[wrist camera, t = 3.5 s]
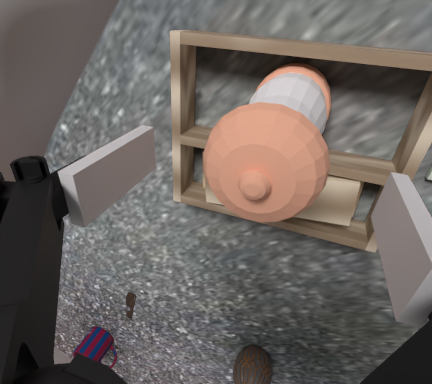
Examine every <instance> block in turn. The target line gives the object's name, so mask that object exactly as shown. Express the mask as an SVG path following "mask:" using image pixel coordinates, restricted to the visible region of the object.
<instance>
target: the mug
mask: <svg viewBox="0 0 432 384" xmlns="http://www.w3.org/2000/svg"><path fill="white" fill-rule="evenodd" d="M112 343H113V337H112V336H111V335H110V334H109V333H108V332H107V331H106V330H104V329H102V328H100V327H97V326H94V327H92V328H91V330H90V331H89V332H88V333H87V335H86V336H85V337H84V339H83V340H82V341H81V342H80V344H79V345H78V346H77V348H76V349H75V350H74V351H73V356H74V357H75V356H76V354H77V353H79V354H81V355H83V356H86V357H88V358H90V359H93V360H95V361H97V362H100V363H101V360H102V358H103V357H104V355H105V354H106V352H107V351H108V349H109V348H110V349H111V350H112V351H113V352H114V355H115V359H114V362H113V364H112V365H111V366H110V368H112V367H113V366H114V364H115V362H116V360H117V353H116V350H115V349H114V347H113V346H112Z"/></svg>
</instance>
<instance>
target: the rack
mask: <svg viewBox="0 0 432 384" xmlns="http://www.w3.org/2000/svg"><path fill="white" fill-rule="evenodd" d="M196 46H203V47H213V48H222V49H231V50H240V51H250V52H259V53H268V54H277V55H287V56H296V57H305V58H315V59H324V60H333V61H342V62H352V63H361V64H370V65H379V66H389V67H398V68H407V69H417V70H426V71H432V53H430V52H420V51H409V50H398V49H388V48H377V47H366V46H355V45H345V44H334V43H323V42H313V41H302V40H291V39H281V38H270V37H259V36H249V35H238V34H227V33H217V32H206V31H195V30H174V31H170V55H171V102H172V149H173V196H174V201H178V202H181V203H185V204H189V205H193V206H197V207H201V208H205V209H208V210H212V211H216V212H220V213H224V214H228V215H231V216H235V217H239V218H243V217H241V216H239V215H237V214H235V213H233V212H231V211H230V210H229V209H227V208H226V207H225V206H224V205H220V204H214V203H208V202H206V190H205V188H203V183H199V182H194V181H193V166H194V147H198V148H203V149H205V147H206V144H207V141H208V138H209V135H210V132H211V130H212V129H213V128H209V127H204V126H198V125H194V123H195V80H196ZM431 142H432V72H431V74H430V76H429V79H428V81H427V83H426V85H425V88H424V90H423V92H422V94H421V97H420V99H419V101H418V103H417V106H416V108H415V110H414V112H413V114H412V117H411V119H410V121H409V123H408V126H407V128H406V130H405V132H404V135H403V137H402V139H401V141H400V144H399V146H398V148H397V150H396V153H395V155H394V157H393V159H392V161H389V160H384V159H378V158H373V157H367V156H362V155H356V154H351V153H346V152H340V151H335V150H329V149H328V152H329V161H330V170H329V174H330V175H335V176H340V177H345V178H350V179H355V180H359V181H364V182H369V183H374V184H379V185H381V186H380V188H379V191H378V193H377V195H376V197H375V200H374V202H373V204H372V206H371V208H370V211H369V213H368V215H367V217H366V220H365V222H363V221H359V220H355V219H351V221H350V225H349V226H345V225H339V224H333V223H328V222H322V221H316V220H310V219H304V218H298V217H292V218H289V219H286V220H282V221H278V222H258V223H262V224H266V225H270V226H274V227H278V228H281V229H285V230H289V231H293V232H297V233H301V234H304V235H308V236H312V237H316V238H320V239H324V240H328V241H331V242H335V243H339V244H343V245H347V246H351V247H354V248H358V249H362V250H366V251H370V252H374V253H375V252H376V250H377V248H378V245H377V241H376V237H375V233H374V228H373V224H372V220H371V214H372V212H373V210H374V208H375V206H376V203H377V201H378V199H379V197H380V194H381V192H382V190H383V188H384V186H385V183H386V181H387V179H388V177H389V175H390V172H394V173H400V174H405V175H408V176H409V178H410V180H411V181H412V180H413V178H414V176H415V174H416V172H417V170H418V168H419V166H420V164H421V162H422V160H423V158H424V156H425V154H426V152H427V150H428V148H429V146H430V144H431ZM243 219H245V218H243ZM247 220H248V219H247ZM251 221H253V220H251ZM254 222H257V221H254Z"/></svg>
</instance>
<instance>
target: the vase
mask: <svg viewBox="0 0 432 384" xmlns="http://www.w3.org/2000/svg"><path fill="white" fill-rule="evenodd" d="M233 377H234V382H235V384H270V383H271V379H272V363H271V360H270V357H269V356H268V354H267V353H266V351H265V350H263V349H262V348H260V347H258V346H248V347H245V348H244V349H242V350H241V351H240V353H239V354H238V356H237V358H236V360H235V364H234V369H233Z"/></svg>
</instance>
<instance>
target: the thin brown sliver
mask: <svg viewBox="0 0 432 384" xmlns="http://www.w3.org/2000/svg"><path fill="white" fill-rule="evenodd" d="M134 297H135V300H136V295H135V294H133V293H131V292H130V293H128V294H127V297H126V305H127V306H128V307H130V311H128V310H127V313H126V316H127V317H128V318H130V320H131V319H132V314H133V308H134V304H135V300H134ZM133 300H134V302H133Z"/></svg>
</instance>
